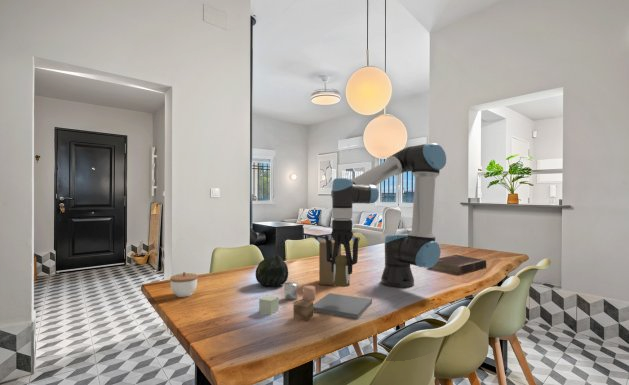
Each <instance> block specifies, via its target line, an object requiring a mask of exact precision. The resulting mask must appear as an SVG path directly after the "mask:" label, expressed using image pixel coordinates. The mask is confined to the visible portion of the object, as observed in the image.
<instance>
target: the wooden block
mask: <svg viewBox="0 0 629 385" xmlns="http://www.w3.org/2000/svg"><path fill="white" fill-rule="evenodd" d="M331 241H332V255H333V250H334V243H335V241H334V239H332V240H331ZM318 247H319V249H318V250H319V251H318V252H319V254H318V257H319V258H318V262H319V263H318V264H319V266H318V268H319V271H318V273H319V274H318V275H319V277H318V278H319V282H318V283H319V285H322V286H325V285H326V286H334V272H332V264H331V263H330V262H327V251H326V240H325V238H324V239H321V240H320V242H319V245H318ZM338 255H342V244H340V246H339V251H338Z"/></svg>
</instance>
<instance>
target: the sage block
mask: <svg viewBox="0 0 629 385" xmlns="http://www.w3.org/2000/svg"><path fill="white" fill-rule="evenodd" d="M258 300H259V301H258V303H259V304H258V306H259V307H258V312H259V314H265V315H270V316H271V315H273V314H275V313H277V312H279V308H280V307H279V303H280V301H279V296H275V295H271V294H269V295H268V294H267V295H264V296H262V297H260V298H259V299H258Z"/></svg>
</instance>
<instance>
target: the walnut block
mask: <svg viewBox="0 0 629 385" xmlns="http://www.w3.org/2000/svg"><path fill="white" fill-rule="evenodd" d="M313 304H314V301H312V302H308V301H303V299H302V300H299V301H297V302H295V303H294V304H293V320H296V321H302V322H307V323H308V321H310V320H311V319H312V318H313V317H314V311H313Z"/></svg>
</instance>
